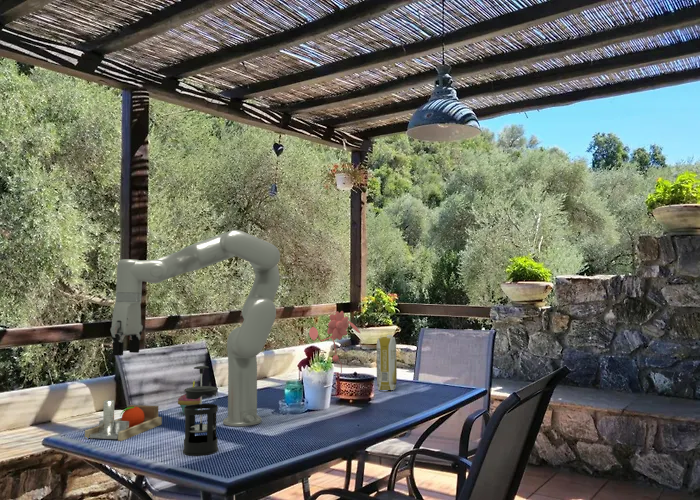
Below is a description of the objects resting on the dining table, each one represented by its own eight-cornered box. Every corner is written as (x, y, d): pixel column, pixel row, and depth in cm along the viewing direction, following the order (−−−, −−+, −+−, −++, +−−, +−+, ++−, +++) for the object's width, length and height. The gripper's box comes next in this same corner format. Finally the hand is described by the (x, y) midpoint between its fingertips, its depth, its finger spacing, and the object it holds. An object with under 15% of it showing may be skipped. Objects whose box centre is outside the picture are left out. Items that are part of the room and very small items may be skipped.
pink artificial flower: (303, 395, 248) (305, 311, 250) (349, 388, 266) (350, 309, 268) (327, 401, 237) (328, 312, 239) (373, 393, 255) (374, 311, 256)
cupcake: (190, 410, 220) (190, 377, 221) (207, 412, 215) (207, 378, 216) (172, 414, 212) (173, 380, 213) (189, 416, 208) (190, 382, 209)
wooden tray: (127, 423, 199) (128, 404, 199) (161, 424, 196) (161, 406, 196) (84, 439, 177) (85, 418, 178) (121, 441, 175) (122, 420, 175)
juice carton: (394, 392, 255) (393, 335, 257) (376, 391, 257) (375, 335, 258) (397, 388, 264) (396, 334, 266) (380, 388, 266) (379, 334, 268)
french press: (226, 451, 162) (227, 366, 164) (196, 458, 156) (197, 369, 157) (202, 444, 170) (203, 362, 172) (172, 450, 163) (173, 366, 165)
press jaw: (102, 433, 183) (102, 398, 184) (128, 434, 181) (129, 399, 182) (89, 437, 177) (90, 401, 178) (117, 439, 175) (118, 402, 176)
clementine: (125, 433, 185) (125, 409, 185) (114, 429, 189) (114, 407, 190) (148, 428, 191) (148, 405, 191) (137, 425, 195) (137, 403, 196)
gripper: (131, 298, 196) (129, 351, 194) (102, 298, 179) (99, 356, 177) (153, 298, 194) (150, 351, 193) (125, 298, 177) (122, 357, 176)
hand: (126, 353), depth 185 cm, fingers open, 9 cm apart
